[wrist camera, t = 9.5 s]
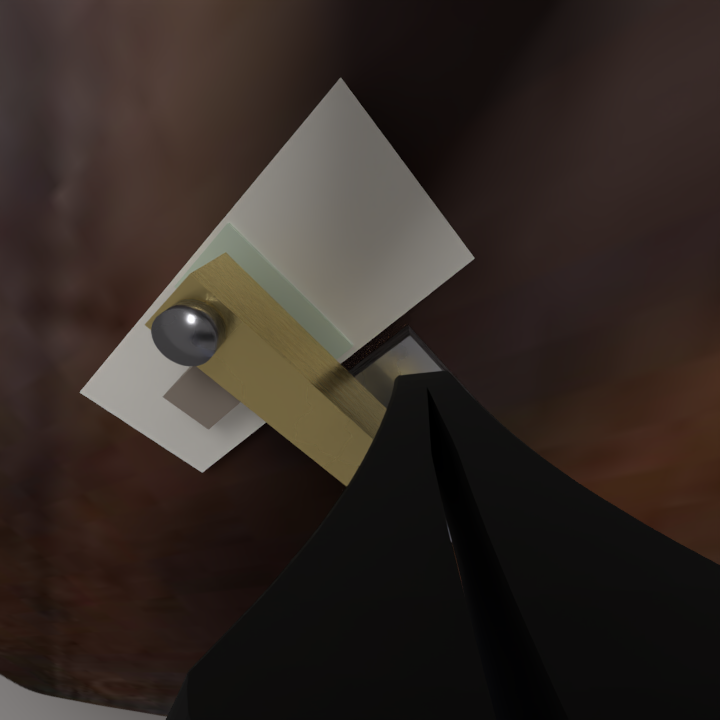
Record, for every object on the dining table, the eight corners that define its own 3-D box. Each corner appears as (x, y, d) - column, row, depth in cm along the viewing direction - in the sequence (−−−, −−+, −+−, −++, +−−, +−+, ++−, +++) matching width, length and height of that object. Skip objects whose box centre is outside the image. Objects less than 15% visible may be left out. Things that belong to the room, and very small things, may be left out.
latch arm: (239, 236, 11) (191, 263, 8) (458, 458, 15) (477, 526, 12) (174, 308, 12) (112, 353, 9) (392, 493, 16) (395, 562, 13)
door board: (213, 452, 19) (180, 511, 16) (101, 375, 16) (36, 425, 13) (465, 249, 13) (493, 277, 10) (344, 87, 11) (331, 56, 7)
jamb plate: (440, 529, 21) (446, 564, 19) (295, 411, 17) (285, 441, 15) (547, 479, 19) (566, 513, 17) (407, 324, 14) (412, 348, 13)
